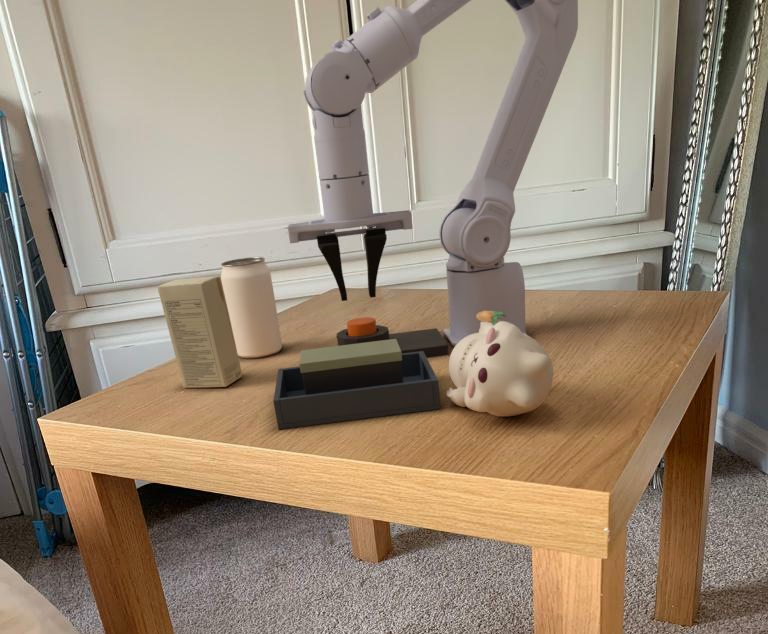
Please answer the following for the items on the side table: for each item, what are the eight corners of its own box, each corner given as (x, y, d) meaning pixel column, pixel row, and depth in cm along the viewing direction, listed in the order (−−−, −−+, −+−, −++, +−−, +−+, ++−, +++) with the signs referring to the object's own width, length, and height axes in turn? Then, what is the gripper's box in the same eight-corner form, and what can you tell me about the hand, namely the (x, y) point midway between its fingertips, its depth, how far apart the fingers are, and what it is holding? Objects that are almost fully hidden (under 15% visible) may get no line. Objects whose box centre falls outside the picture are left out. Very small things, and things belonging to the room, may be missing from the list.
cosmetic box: (244, 377, 92) (224, 274, 87) (226, 388, 89) (204, 282, 83) (199, 377, 94) (176, 277, 89) (180, 388, 91) (155, 284, 85)
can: (274, 358, 99) (257, 263, 93) (228, 360, 100) (209, 267, 95) (289, 344, 104) (274, 254, 99) (245, 347, 106) (229, 258, 101)
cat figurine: (452, 299, 75) (526, 305, 62) (517, 329, 79) (600, 341, 65) (417, 389, 77) (481, 414, 63) (481, 414, 80) (555, 444, 67)
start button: (375, 329, 96) (374, 315, 95) (378, 336, 93) (376, 322, 92) (347, 333, 96) (346, 319, 95) (349, 339, 93) (347, 325, 92)
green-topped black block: (400, 384, 82) (396, 338, 80) (405, 398, 77) (401, 350, 75) (307, 395, 82) (300, 350, 79) (306, 411, 77) (299, 363, 75)
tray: (425, 376, 85) (423, 350, 83) (440, 409, 75) (438, 379, 73) (282, 394, 84) (278, 368, 83) (278, 429, 74) (273, 400, 73)
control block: (437, 336, 100) (436, 314, 99) (448, 354, 92) (446, 330, 91) (338, 349, 100) (335, 326, 98) (340, 367, 92) (337, 343, 90)
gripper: (403, 168, 90) (412, 284, 96) (282, 182, 90) (300, 298, 96) (410, 171, 84) (419, 295, 90) (280, 186, 83) (299, 309, 90)
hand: (358, 297), depth 92 cm, fingers open, 3 cm apart
